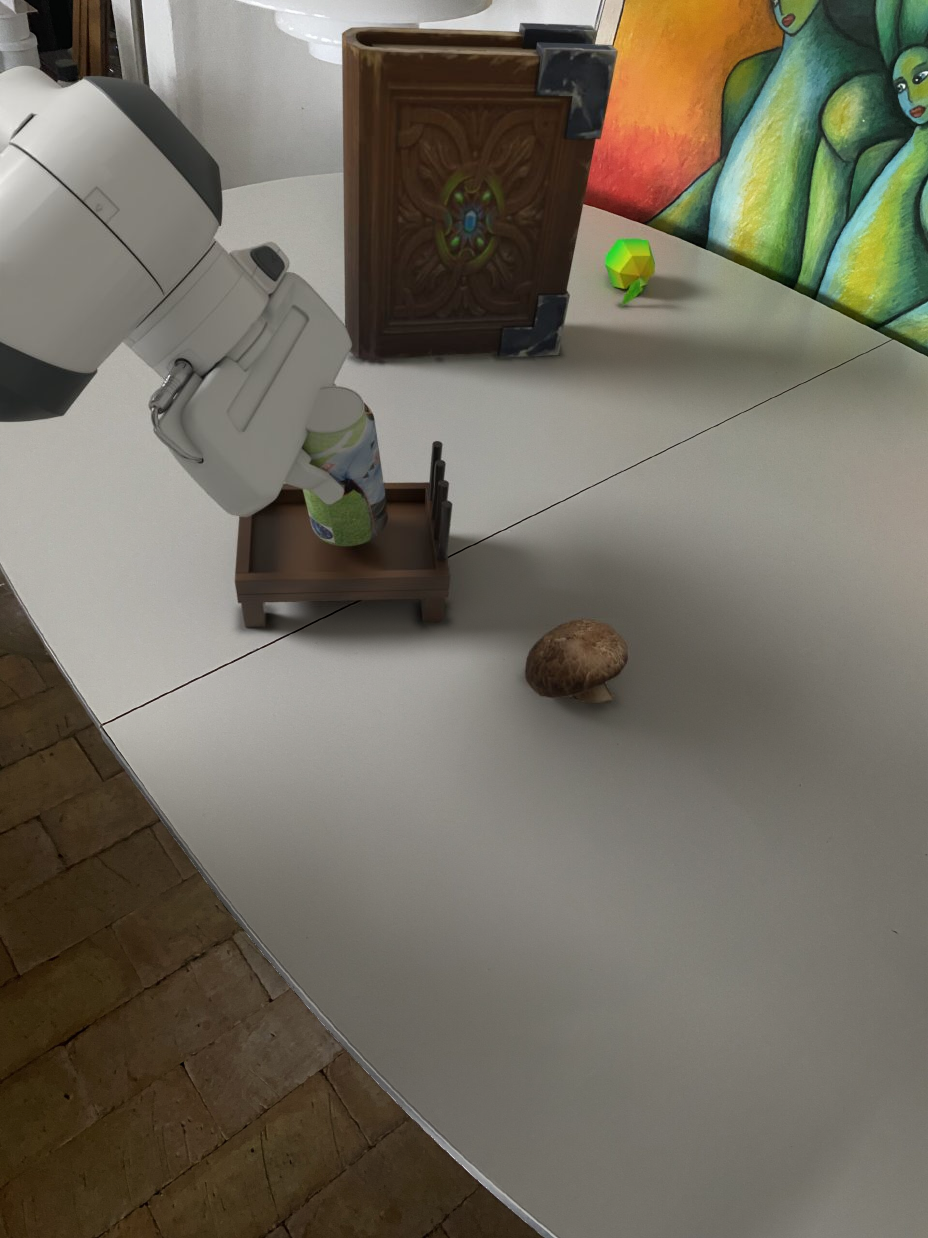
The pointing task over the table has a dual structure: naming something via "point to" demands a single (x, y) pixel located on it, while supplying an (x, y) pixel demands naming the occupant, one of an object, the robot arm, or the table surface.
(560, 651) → the mushroom
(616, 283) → the apple
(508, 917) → the table surface
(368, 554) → the tray
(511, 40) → the decorative book
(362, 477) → the beverage can
